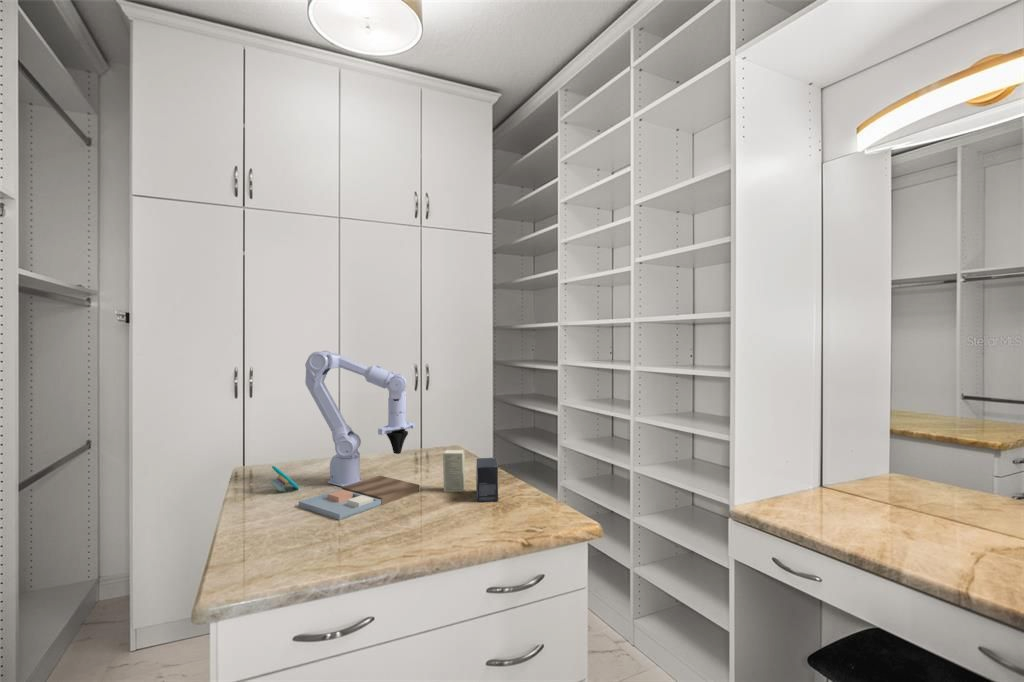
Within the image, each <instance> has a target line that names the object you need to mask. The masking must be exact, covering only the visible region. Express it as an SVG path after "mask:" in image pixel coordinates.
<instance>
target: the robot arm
mask: <svg viewBox="0 0 1024 682" xmlns="http://www.w3.org/2000/svg"><path fill="white" fill-rule="evenodd" d="M304 366H305V380H304V381H305V386H306V387H307V390H308V391H309V394H310V395H311V396H312V398H313V400H314V402H315V404H316V406H317V408H318V410H319V411H320V413H321V415H322V417H323V419H324V420H325V422H326V424H327V426H328V427H329V430H330V431H331V437H332V441H333V443H334V450H335V453H336V454H335V455H333V456H332V457H331V459H330V462H329V481H327V484H330V485H334V486H338V487H343V486H346V485H349V484H353V483H356V482H359V481H363V480H364V479H362V478H361V472H360V471H361V470H360V469H361V467H360V466H361V459H360V458H361V455H360V454H361V453H360V452H359V450H358V449H359V448H360V446H361V444H362V440H361V437H360V436H359V435H358V434H357V433H356V432H354V430H353V429H352V427H350V425H349V424H347V421H346V420H345V419H344V417H343V414H342V412H341V411H340V409H339V407H338V406H337V404H336V402H335V400H334V398H333V397H332V395H331V393H330V391H329V389H328V388H327V386H326V383H325V379H326V377H327V375H328V373H329V371H330V370H331V369H339V368H340V369H343V370H346V371H349V372H352V373H355V374H357V375H360V376H363V377H364V378H365V381H366V382H368V383H370V384H371V385H375V386H377V387H379V388H382V389H387V391H388V408H387V409H388V410H387V413H388V414H387V415H388V417H387V422H388V423H387V425H385V426H383V427H382V426H381V427H378V428H377V435H378V436H379V435H380V436H384V435H386V436H387V438H388V440H389V442H390V444H391V448H392V452H393V454H396V455H399V454H401V453H402V450H403V447H404V443H405V440H406V438H407V437H408V434H409V431H408V430H410V429H416V422H414V421H408V422H407V397H406V396H407V393H406V388H407V386H408V381H407V379H406V378H405V377H404V376H403V375H402V374H400V373H396V371H390V370H387V369H385V368H382V365H380V364H377V365H374V364H373V365H371V366H366V365H365V364H363V363H360V362H359V361H355V360H353V359H351V358H349V357H347V356H345V355H341V354H339V353H336V352H331V351H330V350H321V351H314V352H312V353H311V354H309V356H308V358H307V359H306V362H305V364H304Z"/></svg>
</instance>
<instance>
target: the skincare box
mask: <svg viewBox="0 0 1024 682" xmlns="http://www.w3.org/2000/svg"><path fill="white" fill-rule="evenodd" d="M442 459H443V460H442V462H443V463H442V466H443V467H442V468H443V469H442V470H443V473H442V474H443V492H445V493H451V492H452V493H464V491H465V488H466V464H465V463H466V462H465V461H466V460H465V449H446V450H445V451H443V453H442Z"/></svg>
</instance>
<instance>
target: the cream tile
mask: <svg viewBox="0 0 1024 682" xmlns="http://www.w3.org/2000/svg"><path fill="white" fill-rule="evenodd" d="M370 502H373V498H370V497H367V496H363V495H361V496H358V497H354V498H351V499H348V500H347V505H349V506H352V507H355V508H356V507H359V506H362V505H364V504H367V503H370Z"/></svg>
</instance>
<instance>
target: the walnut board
mask: <svg viewBox="0 0 1024 682" xmlns="http://www.w3.org/2000/svg"><path fill="white" fill-rule="evenodd" d="M420 486H421V485H420V484H417V483H414V482H413V483H412V482H410V481H405V480H401V479H396V478H392V477H389V476H388V477H387V476H384V475H376V476H373V477H370V478H367V479H363V481H359V482H356V483H353V484H349V485H346V486H343V487H342V486H340V489H343V490H347V491H351V492H354V493H358V494H362V495H365V496H369V497H373V498H376V499H380V500H381V505H380V506H383V505H386V504H388V503H391V502H394V501H396V500H397V501H398V500H399V499H403V498H404V497H407V496H410V495H414V494H416V493H419V492H420V491H421V489H420Z"/></svg>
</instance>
